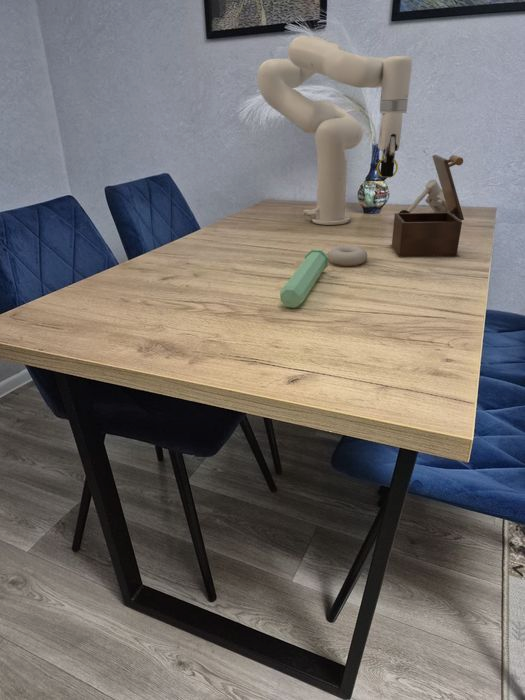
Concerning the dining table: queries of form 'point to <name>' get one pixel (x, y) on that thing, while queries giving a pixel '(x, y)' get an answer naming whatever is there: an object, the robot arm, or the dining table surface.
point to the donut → (347, 255)
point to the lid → (449, 183)
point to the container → (304, 278)
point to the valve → (431, 198)
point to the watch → (380, 162)
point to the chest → (426, 234)
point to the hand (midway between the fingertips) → (386, 175)
